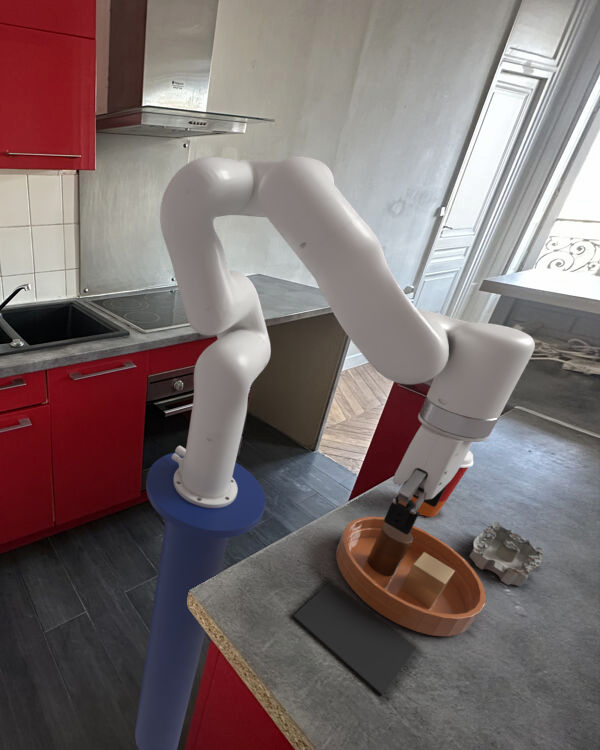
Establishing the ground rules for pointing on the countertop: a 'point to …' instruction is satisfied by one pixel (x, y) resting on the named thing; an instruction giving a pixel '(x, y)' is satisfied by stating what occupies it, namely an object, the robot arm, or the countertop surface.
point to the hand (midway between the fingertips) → (410, 513)
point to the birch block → (427, 579)
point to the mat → (355, 636)
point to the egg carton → (505, 554)
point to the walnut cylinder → (389, 550)
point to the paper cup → (446, 489)
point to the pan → (385, 592)
